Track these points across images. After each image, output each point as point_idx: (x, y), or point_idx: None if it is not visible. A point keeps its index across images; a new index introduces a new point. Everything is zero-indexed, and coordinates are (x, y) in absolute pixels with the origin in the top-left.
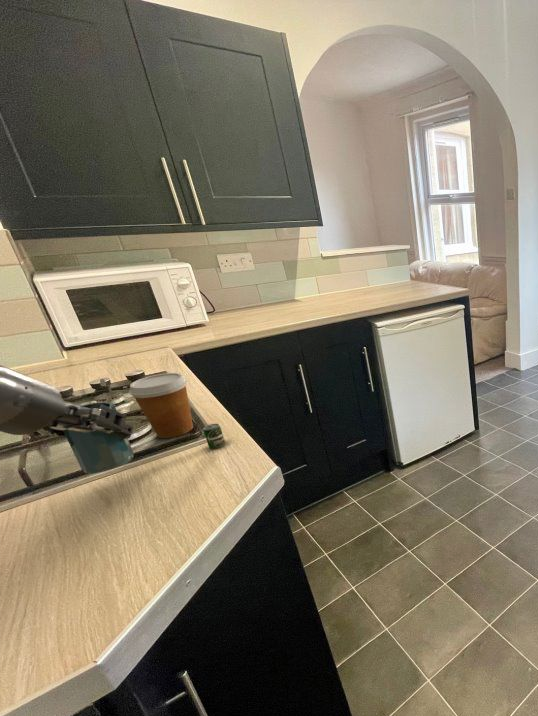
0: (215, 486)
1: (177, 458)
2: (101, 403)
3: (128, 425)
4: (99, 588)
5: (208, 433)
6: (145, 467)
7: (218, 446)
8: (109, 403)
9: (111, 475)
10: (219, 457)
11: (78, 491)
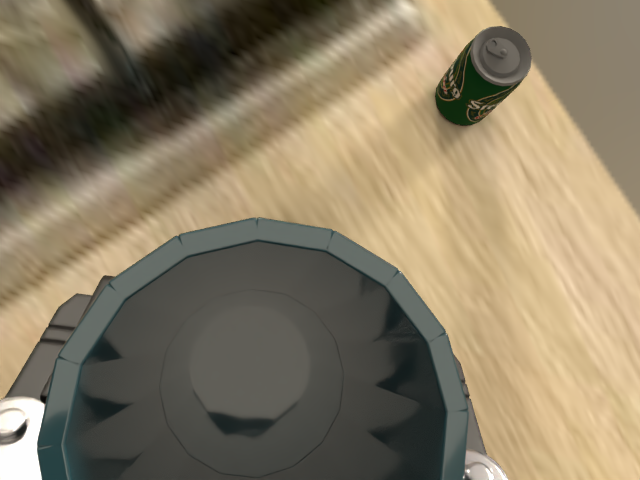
0: (592, 430)
1: (346, 159)
2: (300, 251)
3: (465, 387)
4: None
5: (491, 93)
6: (250, 198)
7: (479, 120)
8: (392, 290)
9: (141, 226)
10: (509, 202)
11: None
